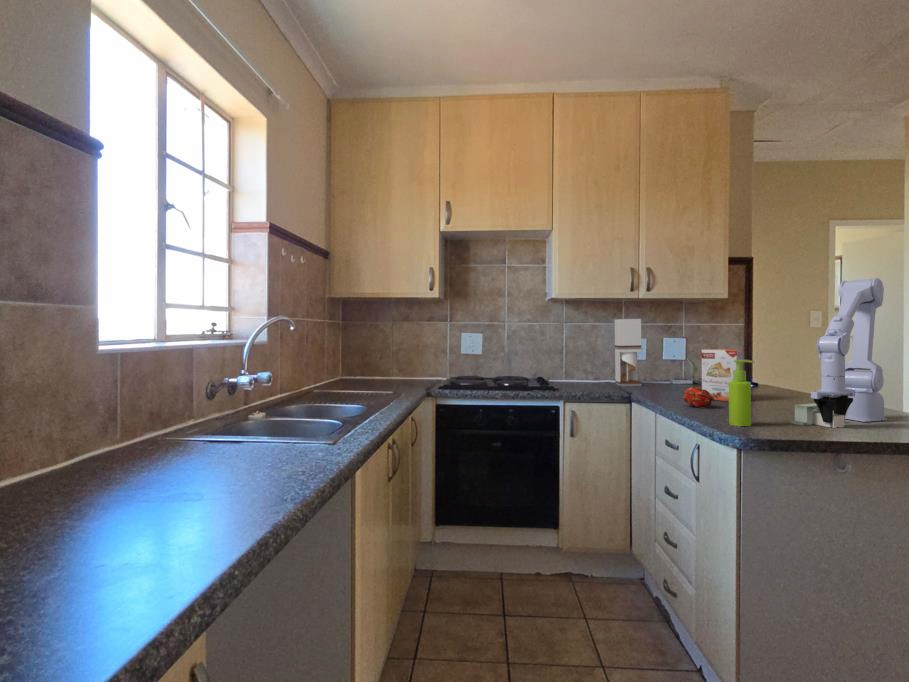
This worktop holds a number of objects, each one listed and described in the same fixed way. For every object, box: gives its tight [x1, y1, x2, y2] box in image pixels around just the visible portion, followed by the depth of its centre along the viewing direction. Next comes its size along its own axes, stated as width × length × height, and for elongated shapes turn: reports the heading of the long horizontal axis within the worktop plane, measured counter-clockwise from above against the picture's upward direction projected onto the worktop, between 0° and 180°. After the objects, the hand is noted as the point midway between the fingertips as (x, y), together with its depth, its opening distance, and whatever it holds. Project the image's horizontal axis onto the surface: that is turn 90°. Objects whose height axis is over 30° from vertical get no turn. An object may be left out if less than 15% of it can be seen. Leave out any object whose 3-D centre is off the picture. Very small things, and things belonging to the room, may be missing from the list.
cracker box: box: [701, 348, 744, 402], centre depth 203 cm, size 14×6×21 cm, turn 38°
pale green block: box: [790, 402, 820, 427], centre depth 152 cm, size 13×4×6 cm, turn 105°
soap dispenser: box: [728, 359, 755, 427], centre depth 152 cm, size 6×7×20 cm
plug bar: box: [813, 410, 845, 429], centre depth 150 cm, size 4×10×4 cm, turn 15°
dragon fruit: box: [682, 385, 715, 409], centre depth 187 cm, size 8×8×12 cm
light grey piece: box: [614, 318, 643, 387], centre depth 263 cm, size 11×11×35 cm
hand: (833, 421), depth 147 cm, fingers closed on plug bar, 4 cm apart
